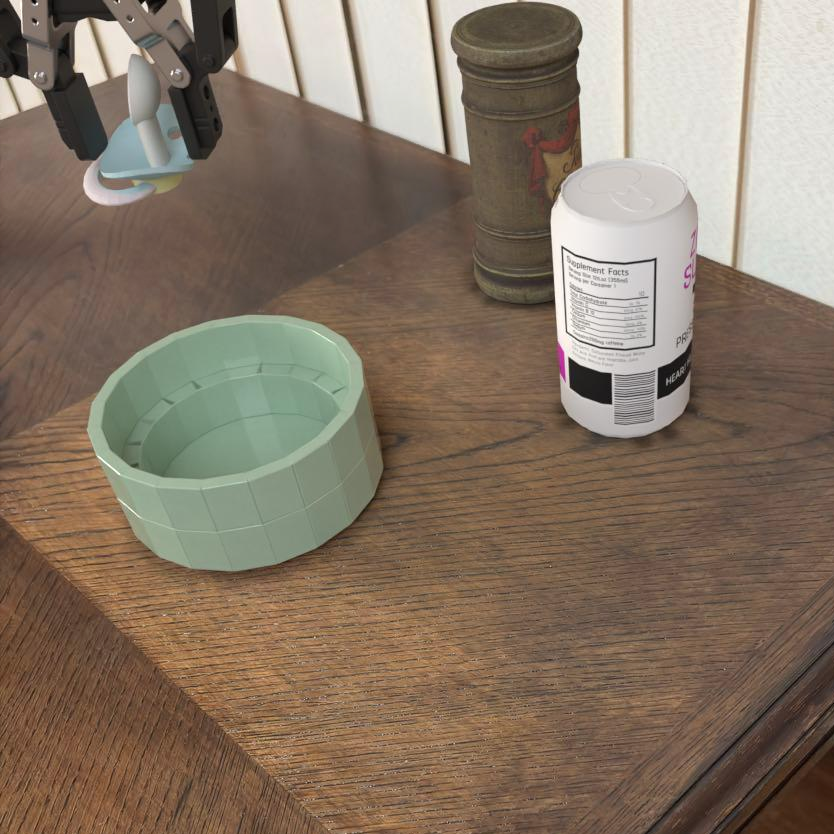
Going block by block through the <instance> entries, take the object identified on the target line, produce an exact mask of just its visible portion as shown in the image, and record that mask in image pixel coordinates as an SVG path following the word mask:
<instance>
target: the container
mask: <svg viewBox="0 0 834 834" xmlns="http://www.w3.org/2000/svg"><path fill="white" fill-rule="evenodd" d="M583 32H584V31H583V26H582V23H581V20H580V18H579V17H578V15H577V14H576V13H574V12H573V11H572V10H570V9H569V8H567V7H564V6H560V5H558V4H554V3H549V2H542V1H511V2H504V3H499V4H493V5H488V6H485V7H482V8H479V9H476V10H474V11H472V12H470V13H467V14H466V15H463V16H462V17H460V18H459V19H458V20H457V21H456V22H455V23H454V25H453V26H452V29H451V31H450V46H451V49H452V51H453V53H454V54H455V55H456V56H457V57H456V65H457V67H458V69H459V73H460V75H461V85H462V89H461V95H460V101H461V104H462V106H463V112H464V113H463V115H464V123H465V130H466V131H465V132H466V142H467V150H468V157H469V166H470V174H471V175H470V176H471V184H472V185H471V186H472V198H473V205H472V219H473V223H474V227H475V228H474V229H475V235H476V236H475V237H476V238H475V240H474V242H473V245H472V256H473V258H474V261H473V262H474V263H473V275H474V278H475V281H476V283H477V285H478V287H479V289H480V290H481V291H482V292H484V294H486V295H488V296H489V297H491V298H492V299H495V300H497V301H502V302H505V303H510V304H511V303H512V304H518V305H530V304H534V305H535V304H542V303H547V302H548V303H549V302H552V301H555V286H554V270H553V253H552V237H551V212H552V208H553V206H554V204H555V202H556V200H557V198H558V196H559V194H560V192H561V185H562V184H563V182H564V181H565V180H566V178H567V177H568V176H569V175H570V174H571V173H573V172H575V171H576V170H578V169H580V168H581V167H583V152H582V150H583V149H582V131H581V130H582V128H581V127H582V125H581V106H580V96H581V95H580V94H581V91H582V90H581V84H580V82H579V79H578V67H577V65H578V60H579V58H580V49H579V46H580V45H581V43H582V40H583V37H584V34H583Z"/></svg>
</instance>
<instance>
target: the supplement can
mask: <svg viewBox="0 0 834 834" xmlns="http://www.w3.org/2000/svg"><path fill="white" fill-rule="evenodd" d="M698 230H699V211H698V205H697V202H696V201H695V199H694V197H693V195H692V193H691V191H690V190H689V188H688V180H687V179H686V177H684V176H683V174H682V173H681V172H680V171H679V170H677V169H676V168H674V167H672V166H670V165H667V164H666V163H664V162H660V161H656V160H651V159H647V158H636V157H635V158H634V157H617V158H611V159H602V160H599V161H596V162H593V163H588V164H586V165H582V167H581V168H580V169H578V170H576V171H575V172H573V173H571V174H570V175H569V176H568V177H567V178H566V180H565V181H564V182H563V184H562V185H561V192H560V194H559V196H558V198H557V200H556V202H555V204H554V206H553V208H552V212H551V237H552V253H553V270H554V286H555V300H554V303H555V315H556V316H555V317H556V318H555V319H556V332H557V333H556V334H557V351H558V364H559V366H558V369H559V382H560V383H559V384H560V399H561V404H562V406H563V408H564V409H565V412H566V413H567V416H569V417H570V418H571V419H573V420H574V421H575V422H576V423H577V424H579V425H580V426H581V427H583V428H586V429H587V430H588V431H591V432H592V433H596V434H599V435H601V436H603V437H609V438H620V439H630V438H636V437H637V438H638V437H644V436H647V435H650V434H653V433H655V432H658V431H661V430H662V429H663V428H666V427H667V426H669V425H670V424H671V423H673V422H674V421H676V419H677V418H678V417H680V416H682V414H683V413H684V411H685V409H686V407H687V405H688V403H689V401H690V391H691V373H692V372H691V370H692V354H693V353H692V352H693V333H694V332H693V331H694V328H693V327H694V310H695V293H696V292H695V289H696V274H697V273H696V272H697V271H696V270H697V251H698V250H697V249H698V232H699V231H698Z"/></svg>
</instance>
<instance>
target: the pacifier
mask: <svg viewBox="0 0 834 834" xmlns="http://www.w3.org/2000/svg"><path fill="white" fill-rule="evenodd" d="M126 80H127V83H126V84H127V87H126V88H127V104H128V112H129V116H128V117H127V118H125V119H124V120H123V121H122V122H121V123H120V124H119V126H117V128H116V129H115V130H114V132H113V133H112V135H111V137H110V138H109V140H108V145H107V148H106V149H105V150H104V152H103V153H102V154H101V155H100V156H99V157H98V159H97V160H96V161H92V163H91V164H90V165H89V166H88V168H87V169H86V172H85V174H84V176H83V184H82V186H83V190H84V193H85V195H86V196H87V197H88V198H89V199H90V200H91V201H92V202H94V203H96V204H97V205H100V206H101V205H102V206H106V207H123V206H127V205H131V204H134V203H138V202H140V201H141V200H144V199H145V198H147V197H149V196H150V195H159V194H164V193H167V192H169V191H171V190H174V189H175V188H176V187H178V186H179V184H180V183H181V182H182V180H183V175H184V173H187V172H190V171H193V170H194V169H195V160H192V159H191V158H190V157H189V155H188V152H187V149H186V146H185V143H184V140H183V137H182V135H180V136H179V137H178V138H175V139H172V138H170V136H171V135H172V134H173V133H175V132H178V131H180V127H179V124H178V121H177V118H176V115H175V112H174V109H173V106H172V104H170V103H161V100H162V99H161V98H162V86H161V85H162V84H161V81H160V77H159V74H158V72H157V70H156V69H155V67H154V65H153V64H152V63H151V62H150V61H149V60H148V59H147V58H145V57H144V56H142V55H141V54H140V55H139V54H137V53H131V54H130V56H129V58H128V66H127V79H126ZM180 132H181V131H180ZM104 178H107V179H113V180H120V181H131V182H132V184H133V186H132V187H128V188H124V189H112V188H111V189H110V188H107V187H105V186H103V180H104Z"/></svg>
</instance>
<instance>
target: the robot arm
mask: <svg viewBox="0 0 834 834" xmlns="http://www.w3.org/2000/svg"><path fill="white" fill-rule="evenodd" d="M189 2H190V3H189V5H190V11H191V12H190V13H191V21H192V29H193V30H192V29H191V27H190V26H189V24H188V23H187V21H186V20H185V18H184V16H183V9H182V5H181V4H180V1H179V0H20V16H19V14H18V12H17V10H16V9H15V7H14V6H13V4H12V2H11V1H10V0H0V78H2V79H10V78H11V77H13V76H16V77H20V78H21V79H25V80H28V81H30V83H31V84H33V86H34V87H36V88H37V89H38V90H40V91H41V93H42V94H43V97H44V99H45V102H46V104H47V106H48V107H47V108H49V112H50V114H51V117H52V119H53V121H54V124H55V126H56V128H57V131H58V133H59V136H60V139H61V141H62V142H63V143H64V144H65V146H66V147H67V148H68V150H73V151H74V153H75V155H76V157H77V159H78V160H79V161H81V162H94V161H96V160H97V159H98V157H99V156H101V155H102V154H103V152H104V150H105V149H106V148H107V145H108V141H109V140H108V135H107V133H106V130H105V127H104V125H103V122H102V119H101V115H100V114H99V111H98V108H97V106H96V103H95V100H94V97H93V95H92V92H91V89H90V87H89V84H88V81H87V79H86V77H85V74H84V72H75V69H74V67H75V64H76V28H77V25H78V23H79V22H80V21H82V20H85V19H88V18H91V19H95V20H100V21H104V22H118V24H119V26H120V27H121V28H122V29H123V31H124V32H125V34H126V35H127V36H128V37H129V39H130V40H131V41H132V44H134V45H135V46H137V47H139V48H143V49H144V50H145V51H146V52H147V54H148V55H149V56H150V58H151V59H152V61H153V63H155V65H156V66H157V68H158V69H159V71H160V72H161V73H162V75H163V76H164V77H165V79H166V80H167V82H168V83H169V84H170V86H169V87H168V88H167V90H166V91H167V93H168V97H169V100H170V103H171V105H172V106H173V109H174V112H175V115H176V118H177V121H178V124H179V127H180V134H181V136H182V137H183V140H184V143H185V146H186V149H187V152H188V155H189V157H190V158H189V159H191V160H193V161H195V160H197V161H200V160H202V161H203V160H207V159H209V157H210V156H211V154H212V153H213V151H214V150H215V149H216V147H217V143H218V141H219V139H220V138H221V137H222V135H223V128H224V125H223V120H222V117H221V114H220V111H219V108H218V103H217V101H216V97H215V94H214V91H213V86H212V84H211V80H210V76H209V75H210V74H211V75H212V74H213V75H215V74H218V73H220V71H222V69H224V68H223V67H225V65H226V64H227V63H228V61H229V60H230V59H231V57H232V56H233V55H234V53H235V52H236V51H237V50H238V48H239V45H240V41H239V28H238V17H237V5H236V4H237V3H236V0H189ZM144 3H145V4H146V6H147V10H146V9H145V8H144V7H143V4H144Z"/></svg>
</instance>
